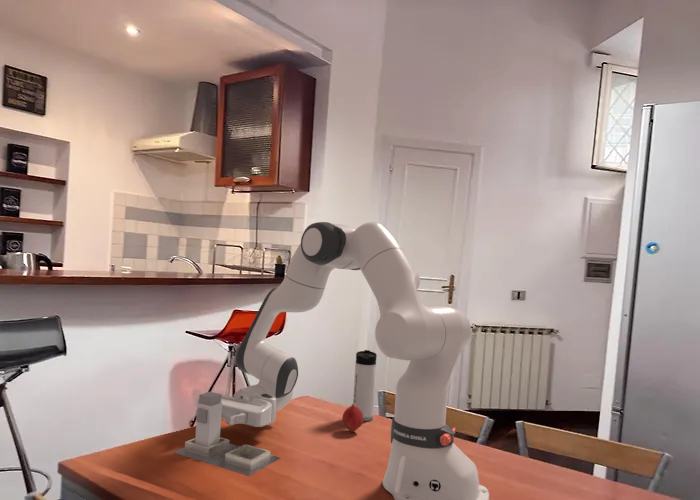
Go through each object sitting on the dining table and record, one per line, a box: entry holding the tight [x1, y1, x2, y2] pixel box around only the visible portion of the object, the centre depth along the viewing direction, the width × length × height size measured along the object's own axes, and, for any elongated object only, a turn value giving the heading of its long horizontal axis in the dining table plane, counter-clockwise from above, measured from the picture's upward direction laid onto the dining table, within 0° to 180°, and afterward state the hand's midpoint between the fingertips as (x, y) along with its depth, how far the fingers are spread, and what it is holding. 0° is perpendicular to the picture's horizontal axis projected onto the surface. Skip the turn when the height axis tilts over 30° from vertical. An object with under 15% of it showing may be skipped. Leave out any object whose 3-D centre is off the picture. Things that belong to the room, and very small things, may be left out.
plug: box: [194, 391, 222, 447], centre depth 126 cm, size 4×5×13 cm
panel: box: [172, 436, 281, 477], centre depth 124 cm, size 22×12×3 cm, turn 63°
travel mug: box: [352, 349, 378, 422], centre depth 161 cm, size 6×7×20 cm
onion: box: [342, 402, 364, 433], centre depth 148 cm, size 6×6×8 cm
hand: (212, 417), depth 128 cm, fingers open, 8 cm apart
